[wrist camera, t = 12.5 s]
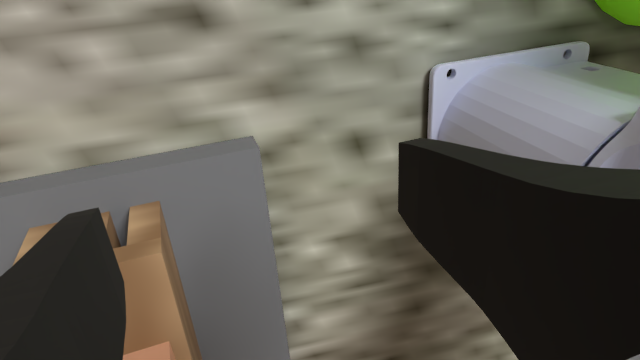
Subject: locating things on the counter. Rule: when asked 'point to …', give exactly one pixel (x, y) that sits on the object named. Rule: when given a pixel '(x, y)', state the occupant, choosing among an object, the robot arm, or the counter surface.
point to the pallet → (146, 282)
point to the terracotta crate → (152, 353)
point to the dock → (180, 234)
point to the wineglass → (622, 10)
